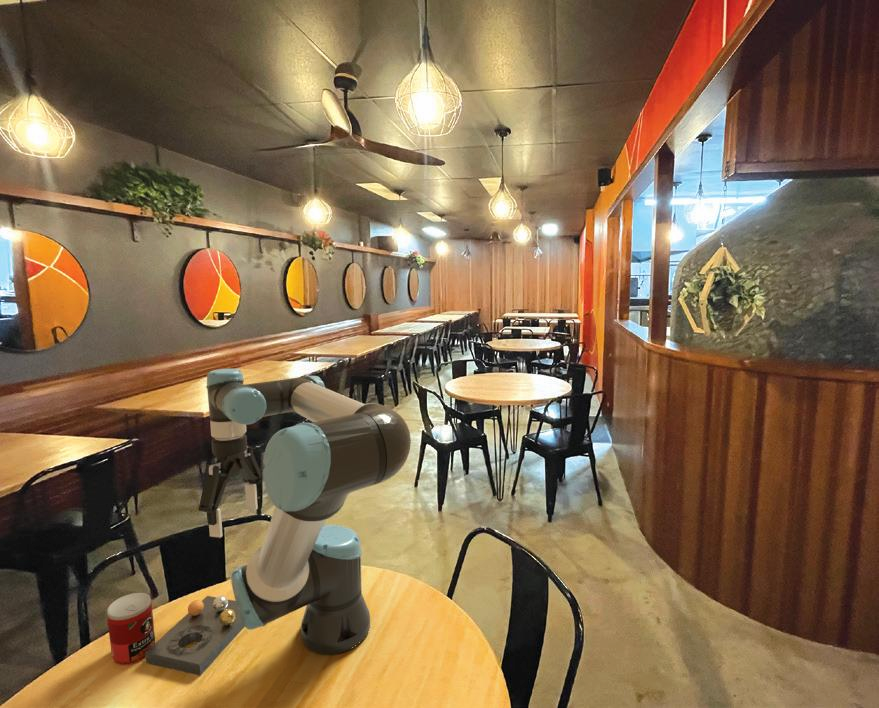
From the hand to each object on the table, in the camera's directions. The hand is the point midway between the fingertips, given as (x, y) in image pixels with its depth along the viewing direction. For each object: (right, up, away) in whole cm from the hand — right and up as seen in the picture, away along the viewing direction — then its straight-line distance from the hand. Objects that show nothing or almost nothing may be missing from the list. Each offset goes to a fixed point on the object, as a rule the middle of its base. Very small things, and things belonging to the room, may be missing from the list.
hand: (235, 521), depth 113 cm
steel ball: (-2, -17, -4) cm, 18 cm away
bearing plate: (-3, -22, -9) cm, 24 cm away
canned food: (-16, -23, -13) cm, 31 cm away
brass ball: (+2, -18, -9) cm, 20 cm away
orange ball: (-7, -17, -6) cm, 19 cm away
